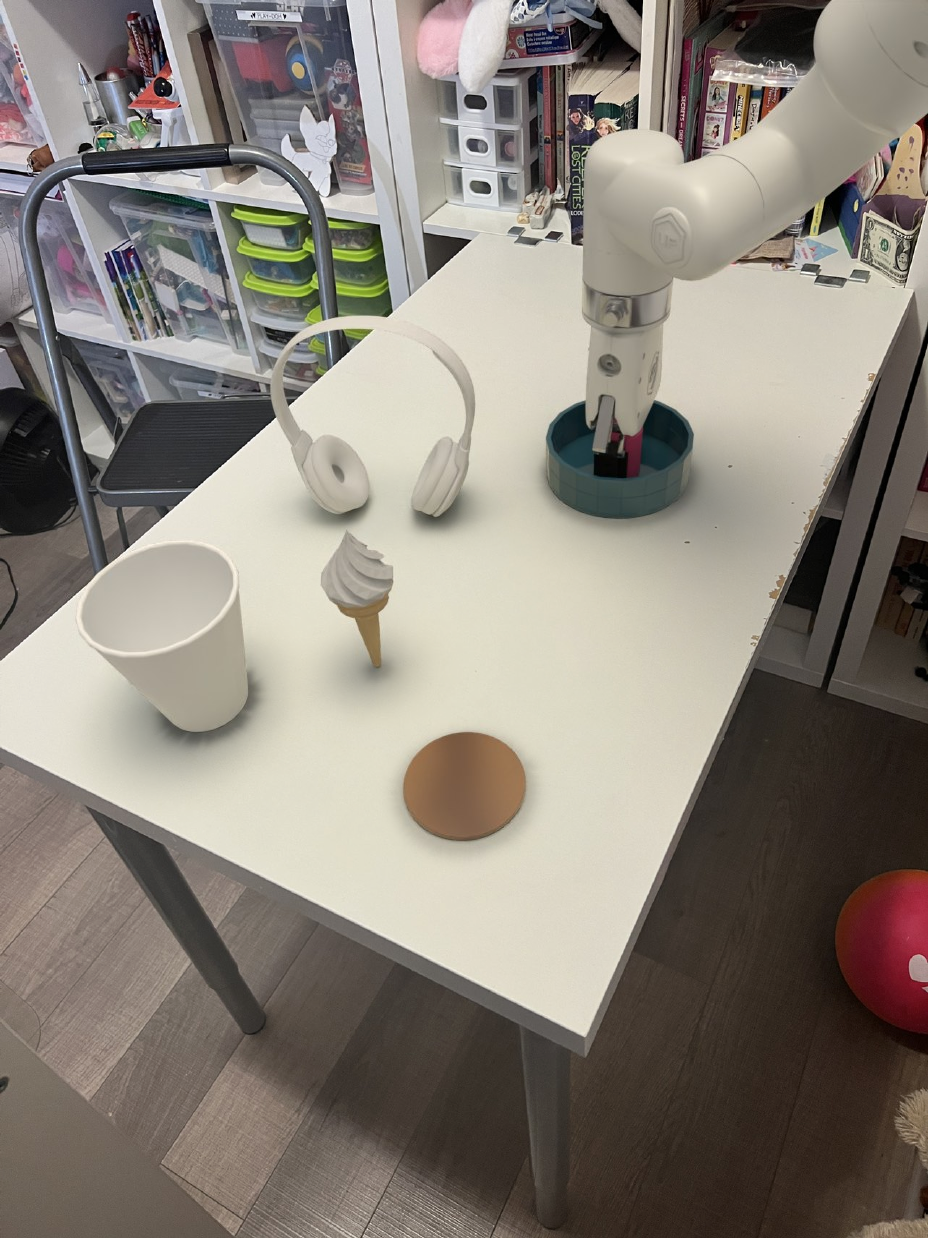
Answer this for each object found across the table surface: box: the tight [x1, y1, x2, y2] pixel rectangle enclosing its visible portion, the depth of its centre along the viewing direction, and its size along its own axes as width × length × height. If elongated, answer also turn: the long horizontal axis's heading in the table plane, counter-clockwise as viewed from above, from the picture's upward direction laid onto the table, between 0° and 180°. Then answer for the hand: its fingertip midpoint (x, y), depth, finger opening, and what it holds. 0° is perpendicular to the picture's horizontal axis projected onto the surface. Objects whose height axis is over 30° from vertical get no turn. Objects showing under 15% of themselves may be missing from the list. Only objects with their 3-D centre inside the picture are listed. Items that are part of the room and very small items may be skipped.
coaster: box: [403, 731, 527, 841], centre depth 65 cm, size 9×9×1 cm
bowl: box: [545, 399, 695, 519], centre depth 87 cm, size 14×14×4 cm
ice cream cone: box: [320, 529, 394, 668], centre depth 69 cm, size 6×6×15 cm
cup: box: [74, 539, 249, 733], centre depth 68 cm, size 12×12×12 cm
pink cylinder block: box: [611, 419, 643, 478], centre depth 87 cm, size 4×4×5 cm
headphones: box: [269, 315, 476, 518], centre depth 81 cm, size 7×18×20 cm, turn 82°
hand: (617, 466), depth 88 cm, fingers closed on pink cylinder block, 4 cm apart
